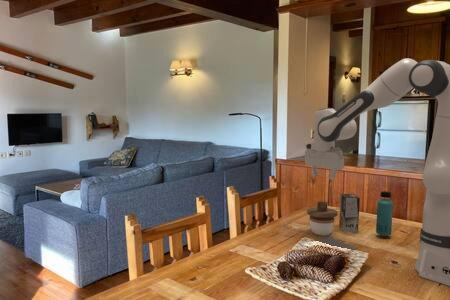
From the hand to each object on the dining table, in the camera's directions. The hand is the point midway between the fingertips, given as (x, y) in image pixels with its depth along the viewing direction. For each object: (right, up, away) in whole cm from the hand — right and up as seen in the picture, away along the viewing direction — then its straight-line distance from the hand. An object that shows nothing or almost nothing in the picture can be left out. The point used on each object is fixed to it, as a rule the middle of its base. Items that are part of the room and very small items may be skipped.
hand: (323, 177), depth 166 cm
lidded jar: (0, -26, +3) cm, 26 cm away
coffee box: (+14, -25, +9) cm, 30 cm away
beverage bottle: (+26, -26, 0) cm, 37 cm away
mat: (-1, -27, -13) cm, 30 cm away
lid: (0, -16, +2) cm, 16 cm away
